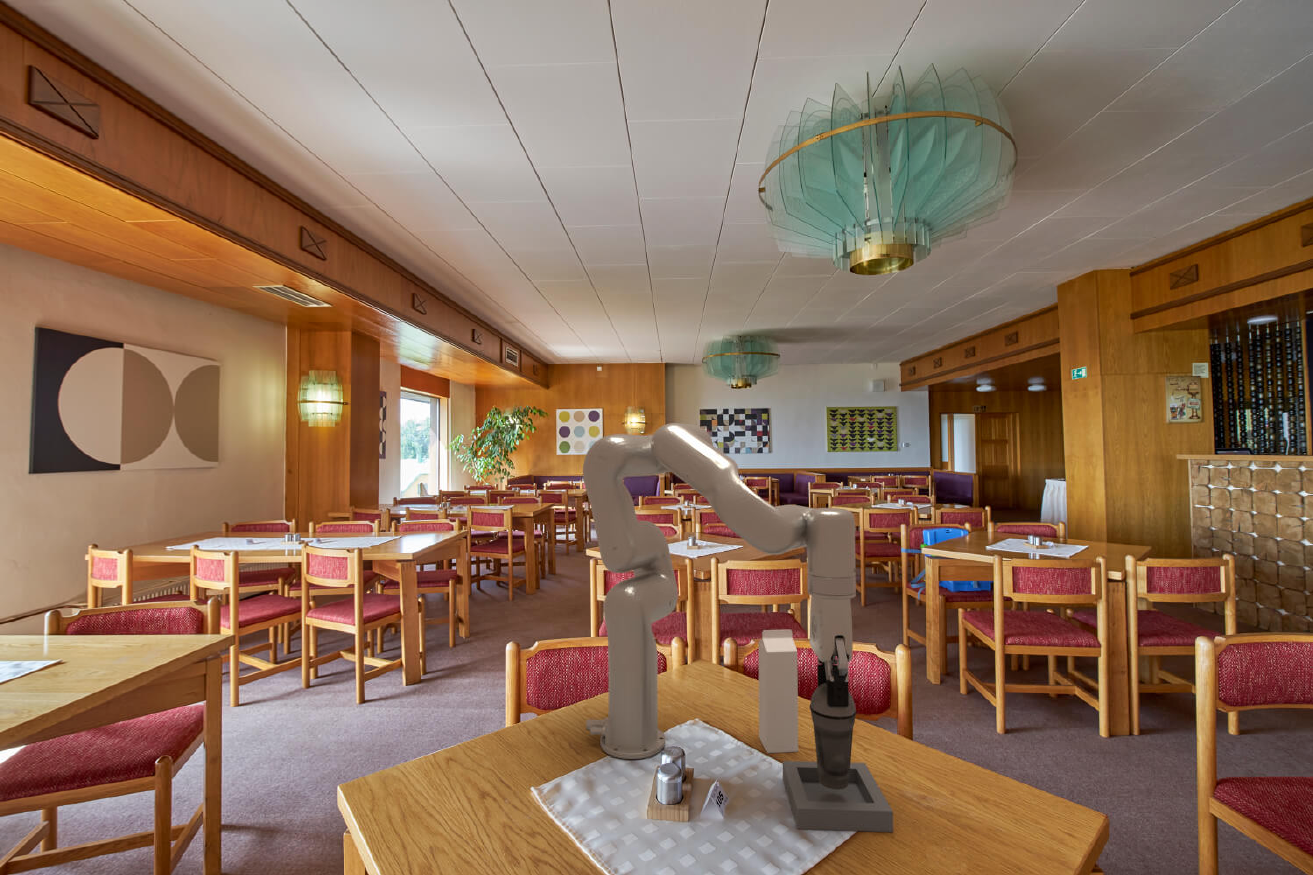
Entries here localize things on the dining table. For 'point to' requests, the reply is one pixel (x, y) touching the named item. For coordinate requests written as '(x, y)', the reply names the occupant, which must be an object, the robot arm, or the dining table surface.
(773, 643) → the milk
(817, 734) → the beverage cup
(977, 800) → the dining table surface
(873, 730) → the dining table surface
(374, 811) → the dining table surface
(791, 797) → the tray
